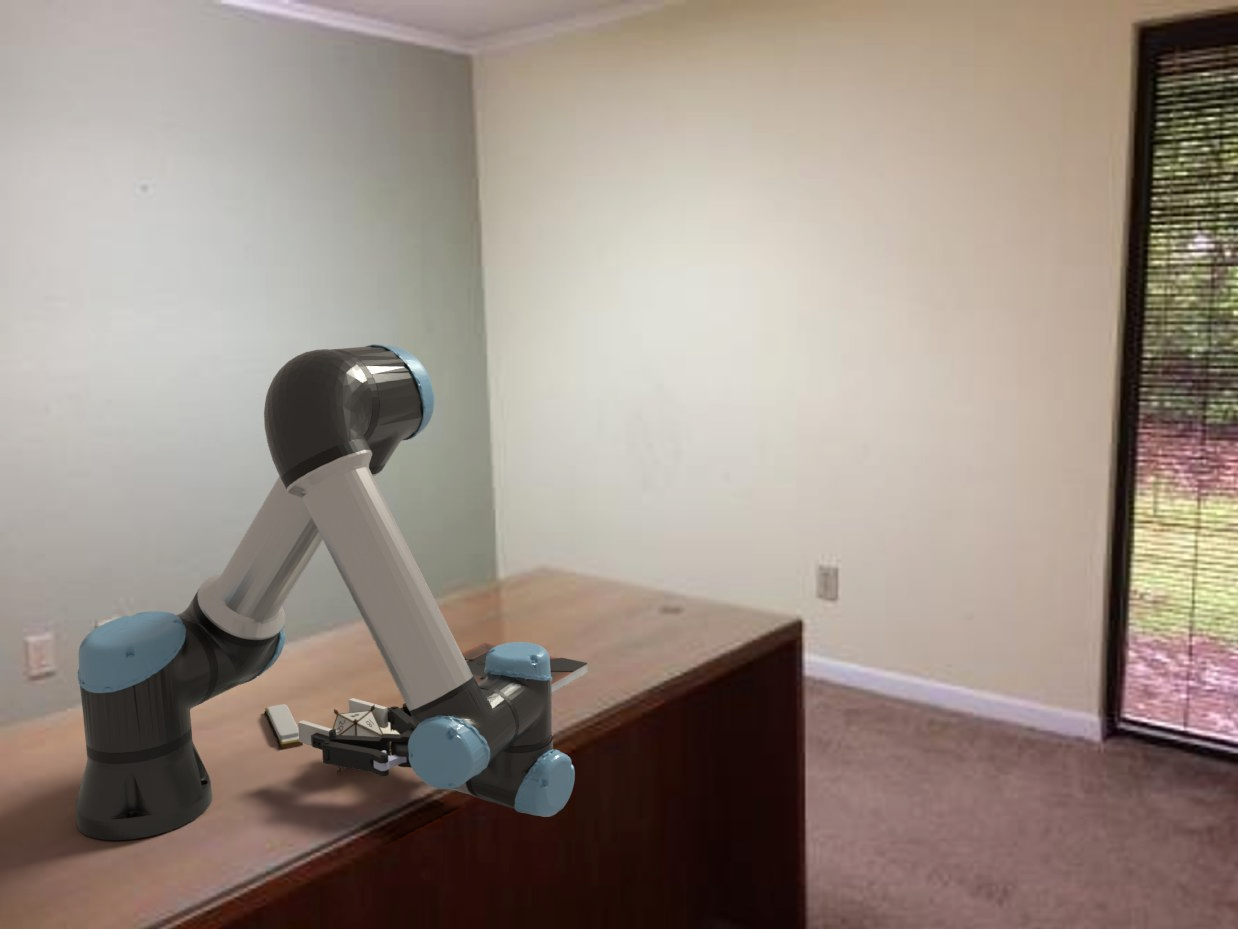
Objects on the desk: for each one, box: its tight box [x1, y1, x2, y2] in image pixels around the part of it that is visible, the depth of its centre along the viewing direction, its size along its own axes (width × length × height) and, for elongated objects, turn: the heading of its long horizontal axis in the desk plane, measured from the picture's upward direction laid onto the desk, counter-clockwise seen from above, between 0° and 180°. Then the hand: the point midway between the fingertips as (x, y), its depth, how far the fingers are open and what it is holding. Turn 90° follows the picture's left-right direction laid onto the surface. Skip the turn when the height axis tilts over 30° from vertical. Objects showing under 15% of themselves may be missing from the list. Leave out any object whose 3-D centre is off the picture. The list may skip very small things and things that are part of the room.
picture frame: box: [461, 642, 589, 695], centre depth 171 cm, size 16×2×22 cm
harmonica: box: [264, 703, 304, 750], centre depth 150 cm, size 15×3×2 cm, turn 27°
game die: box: [332, 703, 386, 776], centre depth 137 cm, size 9×8×10 cm
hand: (326, 719), depth 138 cm, fingers closed on game die, 8 cm apart
